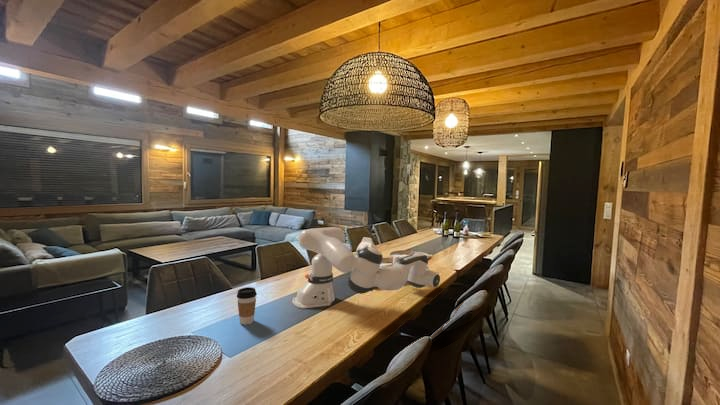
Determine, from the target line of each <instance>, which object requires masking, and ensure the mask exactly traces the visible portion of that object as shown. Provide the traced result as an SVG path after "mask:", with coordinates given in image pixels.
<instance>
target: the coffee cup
mask: <svg viewBox="0 0 720 405" xmlns="http://www.w3.org/2000/svg"><path fill="white" fill-rule="evenodd" d="M256 296H257V291H256V288H254V287H243V288H242V287H241V288H240V289H238V290H237V293H236V298H237V311H238V316H239V324H240V325H241V324H243V325H242V326H247V325H246V324H249V325H251V324H253V323H254V322H255V313H256V311H255V310H256V300H257V297H256ZM253 321H254V322H253ZM252 322H253V323H252Z"/></svg>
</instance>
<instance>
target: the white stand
mask: <svg viewBox="0 0 720 405" xmlns="http://www.w3.org/2000/svg"><path fill="white" fill-rule="evenodd" d="M399 259H400V258H399V256H392V266H393V265H394V264H395V263H396V262H397V261H398V260H399Z"/></svg>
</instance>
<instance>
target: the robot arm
mask: <svg viewBox="0 0 720 405" xmlns="http://www.w3.org/2000/svg"><path fill="white" fill-rule="evenodd" d="M345 240H346V234H345V231H344V230H343V229H342V228H340V227H335V226H330V227H314V228H307V229H305V230H302V231H301V232H300V233H299V236H298V243H299V246H300V247H301V248H302V249H303V250H308V251H312V252H314V253H317V254H316V255H314V256H313V257H312V259H311V273H310V274H308V273H306V274H305V275H304V278H306V279H307V281H305V283H304V284H303V285H302V286H301V287H299V288H298V289H297V291H296V292H297V293H296V296H295V297H294V296H293V298H292V300H291V302H292V304H293V305H294V306H295V307H296V308H299V309H309V308H310V309H311V308H319V307H320V308H321V307H327V306H331V305H332V303H333V302H334V301H335V299H336V298H335V294H334V289H333V282H334V273H333V267H334V268H335V269H337V271H339V272H341V273H344V274H346V273H347V274H348V273H350V272H351V273H350V276H349V277H348V284H347V286H348V287H349V288H350V289H351V291H353V292H354V293H357V294H361V295H362V294H366V293H369V292H373V291H374V290H375V289H374V287H375V286H376V287H378V288H377V289H380V290H383V291H396V290H397V291H398V290H400V289H402V288H404V286H405V285H406V284H407V283H408V285H410V286H411V287H414V288H417V289H421V288H424V287H425V286H428V287H430V288H437V287H438V286H439V285H440V281H441V276H440V274H439V273H437V272H436V271H434V270H432V269H429V266H428V265H429V258H428V256H427V254H425V253H423V252H413V253H412V254H410V255H407V256H406V255H405V256H403V257H401V258H399V260H398V261H397V262H396V263H395V264H394V265H393V264H392V266H386V267H382V268H381V269H380V267H381V264H382V263H383V256H384V255H383V254H382V252H381V251H379V250H378V249H377V250H376V249H374V248H370V247H367V248H363V249H361V250H358V251H357V254H356V253H354V252H352V251H351V250H350V248H349V247H348V246H347V245H346V244H345V243H344V242H345Z"/></svg>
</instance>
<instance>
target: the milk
mask: <svg viewBox="0 0 720 405" xmlns="http://www.w3.org/2000/svg"><path fill="white" fill-rule="evenodd" d="M367 247H370V248H374V249H376V250H378V247H377V246H376V244H375V243H374V241H373V238H371V237H368V236H367V237H365V236H364V237H362V239H361V242H360V243H359V244H358V246H357V248H356V252H355V254H357V251H358V250H361V249H363V248H367Z"/></svg>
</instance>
